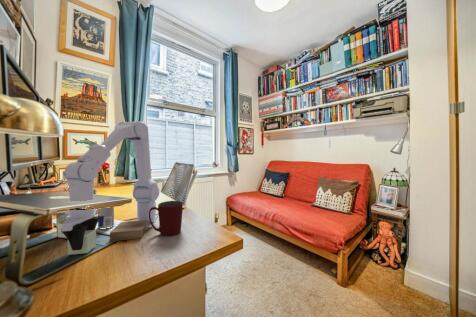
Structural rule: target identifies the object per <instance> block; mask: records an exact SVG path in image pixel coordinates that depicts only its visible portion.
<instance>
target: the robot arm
mask: <svg viewBox="0 0 476 317" xmlns="http://www.w3.org/2000/svg"><path fill="white" fill-rule="evenodd" d="M124 140H127V141H130V142H132V143H133V144H134V146H135V147H134V148H135V158H136V160H135V161H136V174H137V181H136V182H134V184H133V190H132V196H133V198H134V200H135V201H136V203H137V204H136V205H137V208H136V209H137V211H136V214H137V215H136V218H137V219H136V220H135V221H146V220H149V210H150V209H151V208H152V207H157V202H156V201H157V199H159V197H160V189H159V187H158V182H156V181H155V180H154V179H153V178H152V168H151V166H152V164H151V153H150V152H151V151H150V138H149V126H148V125H146V123H145V122H144V121H142V120H141V121H140V120H139V121H120V122H118V123H117V124H116V125H115V126H114V130H112V132H111V133H109V135H108V136H107V137H106V138H105V139H104V140H103V142H102V143H101V144H94V145H90V146H89V147H88V150H87V151H86V152H85V153H84V154H82V156H79V157H78V158H77V161H74V162H70V163H69V164H67V165H66V167H65V169H64V171H62V175H63V177H64V179H66V181H67V186H68V195H69V200H70V201H87V200H92V199H95V198H94V196H95V195H94V194H95V193H94V180H95V178H97V177H98V176H99V170H100V169H101V167H102V165H104V163H106V162H107V160H109V159H110V157H111V155H112V154H111V151H112V150H113V149H114V148H115V147H117V146H118V145H119V144H120V143H121V142H122V141H124ZM150 217H151V221H152V223H153V224H154V222H156V220H157V218H159V214H157V210H156V209H154V210H152V211H151V212H150ZM65 219H67V221H66V222H65V223H64V224H62V229H61V232H62V233H63V234H64V235H65V236H66V237H67V238H66V239H67V242H68V241H69V243H70V245H71V248H72V250H81V249H82V246H83V238H84V234H85V231H86V230H96V227H97V226H98V221H99V219H100V216H98V209H96V208H94V209H92V210H71V211H70V215H69V216H67V217H65ZM149 224H151V223H150V220H149Z"/></svg>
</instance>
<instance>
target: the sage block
mask: <svg viewBox="0 0 476 317" xmlns="http://www.w3.org/2000/svg"><path fill="white" fill-rule="evenodd" d="M96 246H97V229H95V230H86V231H85V234H84V238H83V246H82V249H81V250H72V248H71V245H70V243H69V241H68V240H67V255H69V256H70V255H79V254H80V255H81V254H89V253H90V252H91V251H92V249H94V248H95V247H96Z"/></svg>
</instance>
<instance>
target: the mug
mask: <svg viewBox="0 0 476 317" xmlns="http://www.w3.org/2000/svg"><path fill="white" fill-rule="evenodd" d="M183 206H184V203H183V201H180V200H167V201H163V202H159V203H158V204H157V206H156V207H152V208H151V209H150V210H149V220H150V223H149V224H150V225H151V227H152V229H153V230H154V231H156V232H159V233H160V235H161V236H163V237H172V236H177V235H179V234H180V233H181V232H182V224H183V223H182V222H183V221H182V220H183V209H184V208H183ZM154 209H156V212H157V213H158V214H157V215H158V223H159V225H158V226H159V227H156V226H155V225H154V222H153V223H152V221H151V217H150V212H151V211H152V210H154Z"/></svg>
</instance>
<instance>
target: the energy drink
mask: <svg viewBox="0 0 476 317" xmlns="http://www.w3.org/2000/svg"><path fill="white" fill-rule="evenodd" d="M97 216H100V219H99V221H98V223H97V229H99V228H107V227H111V226H113V225H114V226H115V206H114V207H110V208H101V209H98V214H97ZM114 226H113V227H114ZM111 228H112V227H111Z"/></svg>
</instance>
